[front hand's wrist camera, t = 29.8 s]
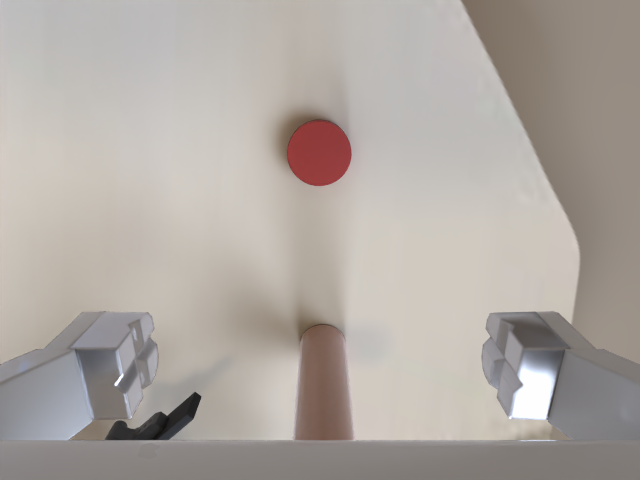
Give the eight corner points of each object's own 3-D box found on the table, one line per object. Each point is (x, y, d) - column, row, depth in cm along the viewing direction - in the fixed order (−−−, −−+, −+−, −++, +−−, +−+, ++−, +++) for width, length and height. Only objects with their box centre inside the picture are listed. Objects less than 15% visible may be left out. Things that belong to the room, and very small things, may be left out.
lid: (289, 182, 37) (288, 186, 35) (287, 120, 35) (286, 121, 34) (349, 181, 37) (350, 185, 35) (350, 119, 35) (351, 120, 33)
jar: (335, 317, 42) (344, 456, 26) (352, 354, 43) (370, 505, 28) (292, 333, 42) (276, 478, 27) (311, 369, 44) (306, 525, 28)
